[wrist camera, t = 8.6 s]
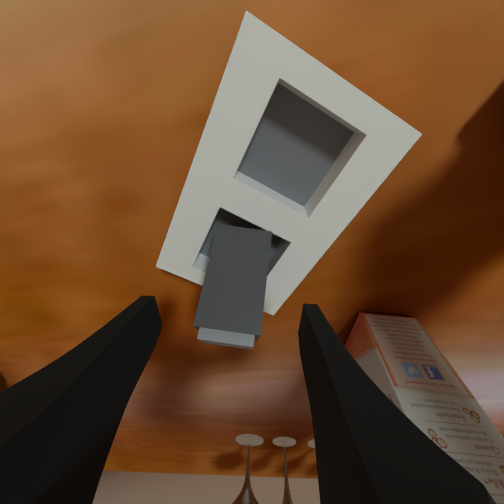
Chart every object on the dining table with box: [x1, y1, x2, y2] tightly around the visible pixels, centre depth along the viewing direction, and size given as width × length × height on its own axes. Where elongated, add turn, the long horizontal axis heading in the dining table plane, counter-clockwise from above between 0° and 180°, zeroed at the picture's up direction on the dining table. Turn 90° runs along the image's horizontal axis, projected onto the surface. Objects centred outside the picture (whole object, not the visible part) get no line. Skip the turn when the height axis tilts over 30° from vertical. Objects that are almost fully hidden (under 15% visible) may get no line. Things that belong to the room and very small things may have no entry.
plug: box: [193, 224, 272, 350], centre depth 15 cm, size 4×4×7 cm
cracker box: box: [345, 312, 504, 504], centre depth 16 cm, size 14×6×21 cm, turn 176°
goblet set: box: [232, 434, 315, 504], centre depth 31 cm, size 28×6×13 cm, turn 92°
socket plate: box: [156, 11, 422, 315], centre depth 15 cm, size 10×15×2 cm, turn 153°
